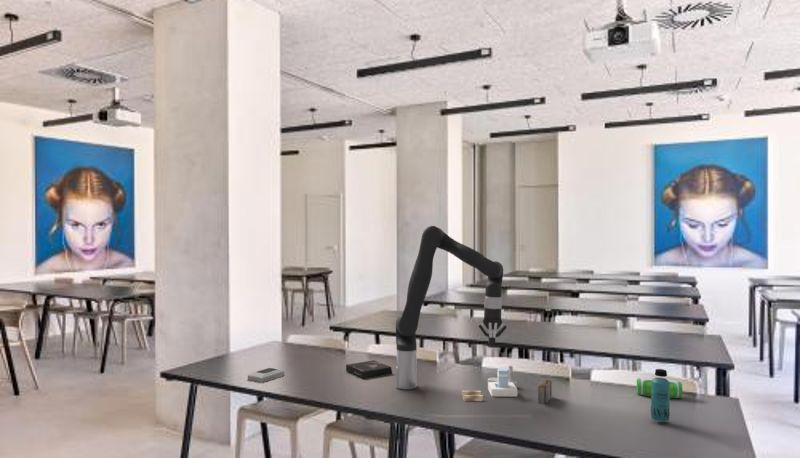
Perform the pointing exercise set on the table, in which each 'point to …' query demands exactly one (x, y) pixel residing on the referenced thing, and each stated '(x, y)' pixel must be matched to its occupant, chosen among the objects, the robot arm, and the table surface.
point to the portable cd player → (368, 369)
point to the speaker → (646, 387)
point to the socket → (502, 390)
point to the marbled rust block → (544, 391)
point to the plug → (502, 378)
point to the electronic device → (509, 377)
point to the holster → (472, 396)
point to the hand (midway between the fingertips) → (491, 345)
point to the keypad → (266, 374)
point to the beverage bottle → (660, 396)
